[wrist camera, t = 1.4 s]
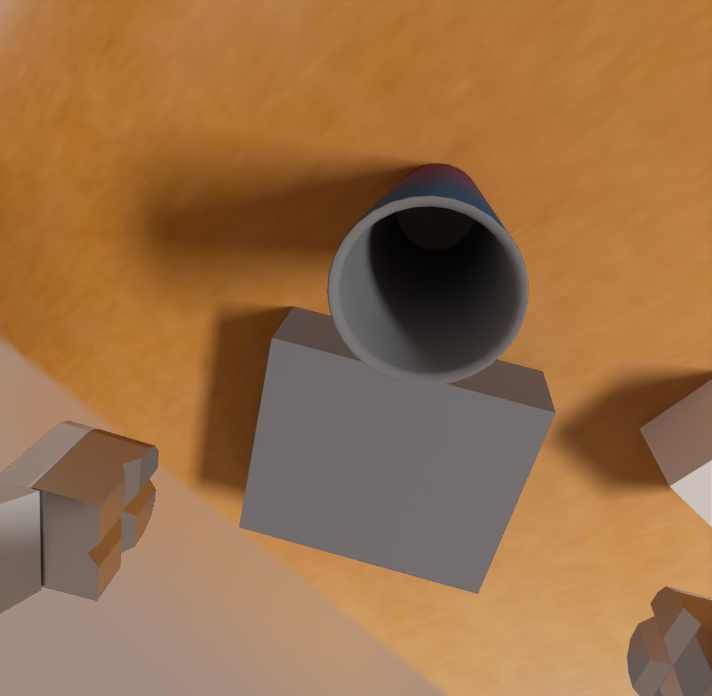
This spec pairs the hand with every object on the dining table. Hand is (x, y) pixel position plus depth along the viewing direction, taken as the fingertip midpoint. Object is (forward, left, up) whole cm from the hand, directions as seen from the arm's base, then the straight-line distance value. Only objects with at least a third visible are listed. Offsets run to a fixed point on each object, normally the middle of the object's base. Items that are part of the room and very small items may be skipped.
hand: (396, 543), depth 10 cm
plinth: (+1, -15, -27) cm, 31 cm away
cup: (0, 0, -27) cm, 27 cm away
